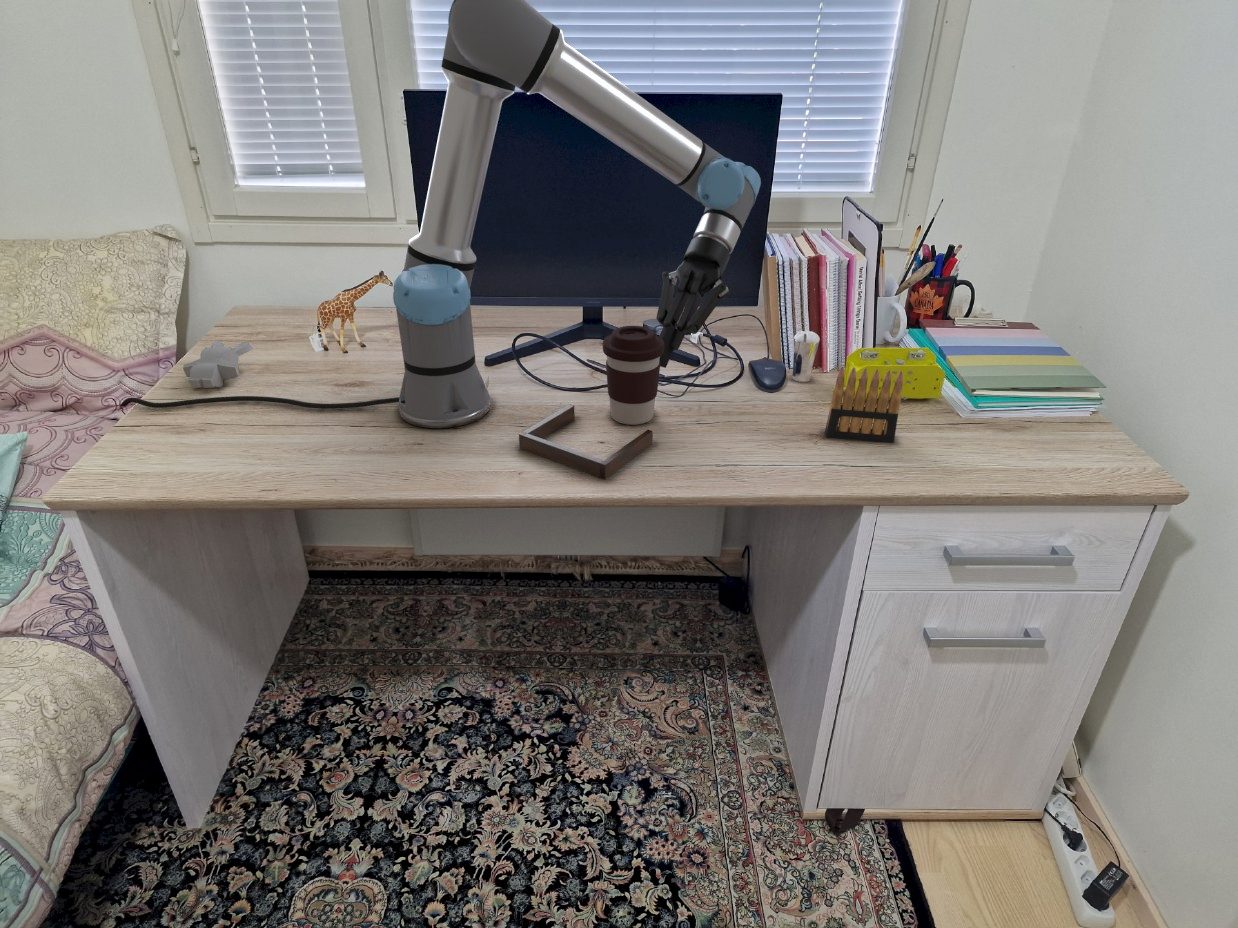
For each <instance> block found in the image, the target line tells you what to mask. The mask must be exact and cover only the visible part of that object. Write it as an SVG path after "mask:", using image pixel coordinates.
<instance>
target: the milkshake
mask: <svg viewBox="0 0 1238 928" xmlns="http://www.w3.org/2000/svg"><path fill="white" fill-rule="evenodd" d="M820 341H821V338H820V336H819V335H818V334H817V333H816V332H814V331H811V330H801V331H798V332H797V333H796V334H795V335H794V336H793V363H792V379H793V380H794V381H796V382H798V383H799V382H800V383H806V382H809V381H810V380H811V377H812V372H813V368H814V363H815V359H816V355H817V351H818V347H819V344H820Z"/></svg>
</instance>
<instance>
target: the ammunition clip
mask: <svg viewBox="0 0 1238 928" xmlns="http://www.w3.org/2000/svg"><path fill="white" fill-rule="evenodd" d="M844 378H845V367H844V366H841V367H840V368H839V371H838V373H837V376H836V379H835V380H836V381H835V385H834V389H833V391H832V395H831V401H830V407H829V411H828V416H827V421H826V423H825V424H826V425H825V430H824V434H825V435H824V436H825V438H831V439H844V440H854V441H856V440H857V441H864V442H877V443H891V444H894V443H895V439H896V438H895V437H896V432H897V427H898V426H897V425H898V419H899V411H900V407H901V402H902V401H901V400H902V398H901V393H902V386H903V372H902V371H900V373H899V374H898V376H897V378H896V381H895V385H894V388H893V392H892V394H891V397H890V385H891V371H890V370H889V371H888V372H887V373H886V375H885V378H884V381H883V385H882V388H881V392H880V394H879V397H878V385H879V370H878V369H877V370H876V371H875V373H874V375H873V377H872V380H871V385H870V388H869V391H868V394H867V398H866V388H867V380H868V373H867V369H866V368H865V369H864V371H863V373H862V375H861V378H860V381H859V385H858V389H857V392H856V395H855V383H856V370H855V368H853V369H852V371H851V373H850V375H849V379H848V383H847V387H846V390H845V389H844V388H845V387H844ZM854 396H855V399H854ZM877 397H878V398H877ZM889 397H890V400H889ZM865 399H866V400H865Z"/></svg>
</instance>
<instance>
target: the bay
mask: <svg viewBox="0 0 1238 928" xmlns="http://www.w3.org/2000/svg"><path fill="white" fill-rule="evenodd" d="M575 414H576V413H575V405H573V404H568V405H566V406H564V407H563V408H561V409H559V410H558V411H556V412H554V413H553V414H550V415H549V416H548V417H546V418H544V419H542V420H541V421H539V422H537V423H536V424H534V425H532V426H530V427H529V428H526V429H525V430H523V431H522V432H520V433H518V443H519V449H520V450H523V451H526V452H528V453H532V454H534V455H538V456H540V457H543V458H544V459H545V458H546V459H548V460H551V461H553V462H556V463H559V464H561V465H564V466H567V467H570V468H572V469H575V470H577V471H581V472H583V473H585V474H589V475H591V476H594V477H596V478H600V479H601V480H608V478H610V477H611V476H612V475H614V474H615V473H616V472H618V471H619V470H620V469H622V468H623V467H625V466H626V465H627V464H628V463H630V462H631V461H633V460H634V459H635V458H636V457H638V456H639V455H641V454H642V453H644V452H645V451H647V450H648V449H649V448H650V447H651V446H653V445H654V444H653V441H654V430H651V429H646V430H645V431H643V432H642V433H640V434H639V435H637V436H636V437H635V438H634V439H632V440H630V441H629V442H628V443H627V444H625V445H624V446H622V447H621V448H619V449H618V450H617V451H615V452H614V453H613V454H611V455H610V456H608V457H607V458H606V459H600V458H598V457H595V456H592V455H589V454H587V453H584V452H581V451H578V450H575V449H572V448H570V447H568V446H564V445H561V444H558V443H556V442H554V441H553V442H552V441H550V440H548V439H544V438H546V437H549V436H550V435H552V434H554V433H555V432H556V431H557V430H559V429H561V428H562V427H565V426H566V425H567V424H569V423H571V422H572V421H574V420H576V419H575V417H576V416H575Z"/></svg>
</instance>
